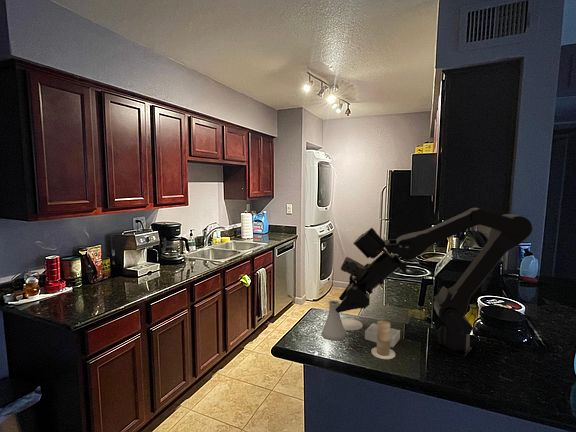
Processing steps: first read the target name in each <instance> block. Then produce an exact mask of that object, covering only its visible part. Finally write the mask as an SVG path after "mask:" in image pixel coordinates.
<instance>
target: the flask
mask: <svg viewBox="0 0 576 432" xmlns="http://www.w3.org/2000/svg"><path fill="white" fill-rule="evenodd" d="M340 303H341V302H340V301H339V300H333V299H331V300H329V301H328V305H329V306H328V308H329V309H328V313H327V317H326V320H325V323H324V324H323V325H324V326H323V328H322V331H321V335H322V337H323V339H326V340H331V341H342V340H344V339H345V338H346V336H347V334H346V333H347V332H346V330H345V329H344V327H343V324H342V321H341V320H342V319H341V318H342V317H341V315H340V312H339V313H338V312H337V311H336V308H337V307H338V306H339V304H340Z"/></svg>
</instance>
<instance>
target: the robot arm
mask: <svg viewBox="0 0 576 432" xmlns="http://www.w3.org/2000/svg"><path fill="white" fill-rule="evenodd" d="M479 225H480V226H483V227H487V228H491V229H490V231H489V235H488V239H487V241H486V243H485V245H484V246H483V247H482V249H481V250H480V251H479V252H478V254H477V255H476V257H474V259H473V260H472V261H471V263H470V264H469V265H468V267H467V268H466V269H465V271H463V274H462V275H461V276H460V277H459V279H458V280H457V281H456V282H455V284H454V285H452V286H450V287H448V288H446V287H445V286H443V285H442V287H441V288H440V289H439V292H438V293H437V294H436V295H435V296H433V298H434V301H433V308H434V311H435V313H436V314H437V316H438V318H439V319H440V321H441V322H442V323H441V324H440V327H439V328H438V337H437V338H438V341H437V342H438V345H437V349H439V350H442V351H444V352H448V353H449V354H452V355H455V356H457V357H461V358H465V357H466V356H467V355H468V353H469V352H470V351H471V350H472V348H473V347H472V346H470V345H471V343H470V342H471V340H470V339H471V333H472V331H473V329H474V327H473V325H472V324H471V322H470V321H469V320H468V318H467V317H466V313H467V312H468V308H469V304H470V299H471V298H472V296H473V295H474V294H475V293H476V291H477V290H478V289H479V287H480V286H481V285H482V284H483V282H484V281H485V280H486V278H487V277H488V276H489V275H490V273H491V272H492V271H493V270H494V268H495V267H496V266H497V265H498V264H499V262H500V261H501V260H502V258H503V257H504V256H505V255H506V253H507V252H510V251H511V250H513V249H514V248H516V247H518V246H520V244H522V243H523V242H524V241H525V240H526V239H527V238H529V237H530V236H531V234H532V233H533V230H534V229H533V225H532V222H531V221H530V220H529V219H528V217H527V218H526V217H525V216H522V215H517V214H509V213H506V214H502V215H501V214H498V213H494V212H490V211H486V210H485V209H483V208H479V207H471V208H469V209H467V210H466V211H464V212H461V213H460V214H457V215H456V216H453V217H451V218H448V219H447V220H444V221H442V222H440V223H438V224H435V225H433V226H431V227H428V228H427V229H423V230H419V231H414V232H413V231H412V232H410V233H406V234H402V235H399V236H398V237H397V238H396V239H383V238H382V237H381V236H380V235H379V234H378V233H377V231H376V230H375V229H374V228H373V227H371V228H370V229H369V228H368V230H367V231H365V232H364V233H362V234H360V236H358V237H357V238H356V239H355V241H354V242H353V245H354V246H355V247H356V248H357V249H358V250H359V251H360V252H361V253H362V254H363V255H364V256H365V257H366V259H369V258H370V259H374V260H373V261H372V262H371V263H370V262H369V263H365V264H361V262H358V261H357V260H354V259H352V258H350V257H348V256H346V257H345V259H344V260H343V263H342V264H341V266H340V270H341V271H342V272H343V273H348V275H349V281H348V282H349V283H348V284H347V286H346V287H345V289H344V290H343V292H342V293H341V294H340V295H339V298H338V299H339V300H340V301H341V302H339V303H340V304H339V306H338V307H337V308H336V311H337V312H338V313H339V314H340V313H344V312H347V311H353V310H357V309H360V310H362V309H363V310H365V309H366V308H367V307H369V306H370V304H371V303H370V300H371V297H370V296H371V295H372V294H373V293H374V291H373V290H375V289H376V288H377V287H378V286H379V285H380V286H382V285H383V284H385V280H387V278H390V276H391V275H392V274H394V273H395V272H396V271H397V270H399V269H400V270H401V271H402V273H404V274H406V273H408V272H407V265H408V262H407V261H411V260H413V259H416V258H417V257H419V256H420V255H422V254H423V253H425V252H426V251H427V250H428V249H429V248H430V247H431V246H434V245H435V244H438V243H440V242H442V241H444V240H446V239H448V238H452V237H453V236H456V235H458V234H459V233H462V232H464V231H466V230H468V229H471V228H473V227H474V228H475V226H479ZM382 252H383V253H382ZM400 258H401V259H403V260H401V259H400Z"/></svg>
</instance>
